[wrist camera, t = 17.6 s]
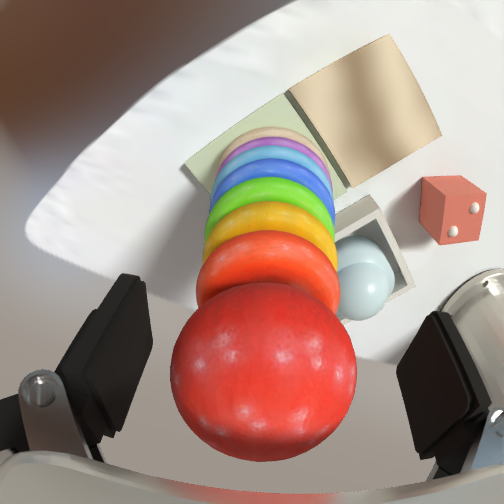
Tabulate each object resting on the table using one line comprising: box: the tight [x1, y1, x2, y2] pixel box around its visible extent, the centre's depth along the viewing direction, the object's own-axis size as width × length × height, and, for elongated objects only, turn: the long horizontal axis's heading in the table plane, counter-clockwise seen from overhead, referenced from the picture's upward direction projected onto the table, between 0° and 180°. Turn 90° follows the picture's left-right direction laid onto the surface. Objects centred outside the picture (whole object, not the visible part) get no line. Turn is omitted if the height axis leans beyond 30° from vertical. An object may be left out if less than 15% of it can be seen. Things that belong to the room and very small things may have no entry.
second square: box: [184, 93, 347, 200], centre depth 22 cm, size 8×8×1 cm
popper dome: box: [335, 236, 395, 321], centre depth 23 cm, size 6×6×5 cm
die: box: [419, 176, 486, 245], centre depth 21 cm, size 4×4×4 cm
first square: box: [289, 34, 442, 188], centre depth 19 cm, size 8×8×1 cm
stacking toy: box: [170, 126, 357, 462], centre depth 14 cm, size 8×8×19 cm
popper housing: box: [334, 194, 415, 325], centre depth 25 cm, size 9×9×3 cm
